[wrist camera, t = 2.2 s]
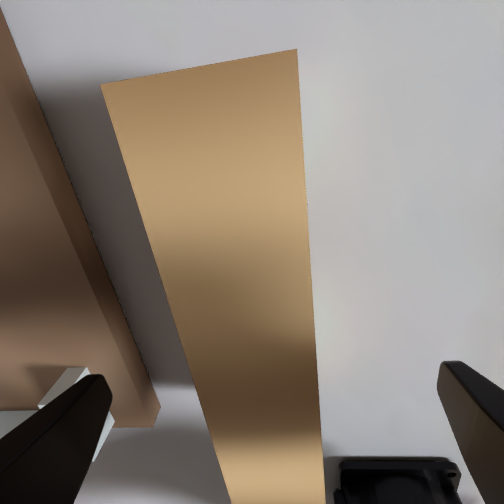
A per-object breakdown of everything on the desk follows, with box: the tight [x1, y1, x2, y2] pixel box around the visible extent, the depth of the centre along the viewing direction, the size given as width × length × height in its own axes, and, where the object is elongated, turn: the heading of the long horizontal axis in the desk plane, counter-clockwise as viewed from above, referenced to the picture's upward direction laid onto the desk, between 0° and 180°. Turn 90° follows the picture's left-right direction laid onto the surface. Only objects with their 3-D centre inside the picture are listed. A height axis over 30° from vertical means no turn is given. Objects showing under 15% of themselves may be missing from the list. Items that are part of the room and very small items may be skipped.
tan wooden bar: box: [100, 49, 326, 504], centre depth 10 cm, size 14×3×6 cm, turn 8°
